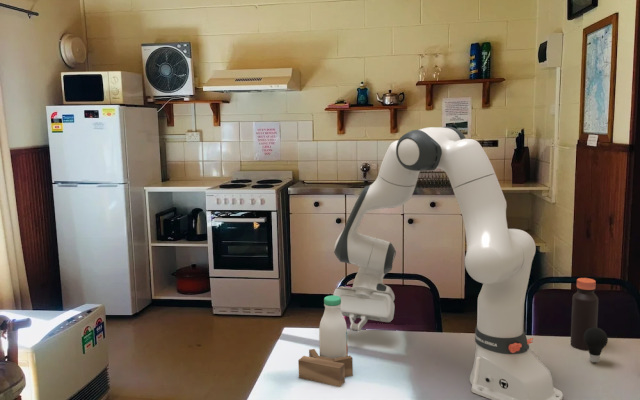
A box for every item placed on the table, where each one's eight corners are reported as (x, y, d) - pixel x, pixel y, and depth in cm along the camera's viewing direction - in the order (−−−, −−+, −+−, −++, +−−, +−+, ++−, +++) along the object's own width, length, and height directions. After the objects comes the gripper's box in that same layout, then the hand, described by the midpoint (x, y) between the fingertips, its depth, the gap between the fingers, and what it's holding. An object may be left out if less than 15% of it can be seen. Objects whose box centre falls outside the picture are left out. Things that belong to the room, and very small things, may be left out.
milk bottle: (345, 374, 145) (344, 302, 143) (317, 372, 147) (315, 301, 144) (349, 362, 153) (348, 293, 150) (323, 360, 154) (321, 292, 152)
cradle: (311, 365, 151) (310, 348, 151) (354, 373, 146) (353, 356, 145) (297, 377, 144) (296, 359, 144) (341, 387, 139) (341, 368, 138)
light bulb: (609, 362, 149) (611, 327, 147) (602, 369, 145) (604, 333, 143) (586, 356, 153) (588, 322, 151) (579, 363, 149) (581, 328, 147)
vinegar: (568, 347, 159) (571, 281, 156) (572, 339, 164) (574, 275, 161) (594, 352, 155) (598, 285, 152) (597, 344, 161) (600, 278, 158)
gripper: (333, 280, 171) (320, 321, 164) (395, 287, 162) (384, 330, 155) (339, 290, 176) (326, 329, 168) (399, 297, 167) (389, 339, 159)
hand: (354, 330), depth 162 cm, fingers closed
